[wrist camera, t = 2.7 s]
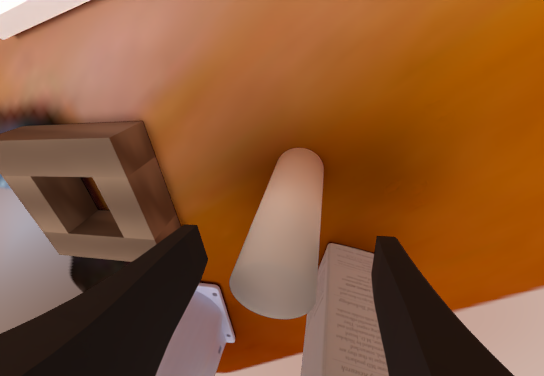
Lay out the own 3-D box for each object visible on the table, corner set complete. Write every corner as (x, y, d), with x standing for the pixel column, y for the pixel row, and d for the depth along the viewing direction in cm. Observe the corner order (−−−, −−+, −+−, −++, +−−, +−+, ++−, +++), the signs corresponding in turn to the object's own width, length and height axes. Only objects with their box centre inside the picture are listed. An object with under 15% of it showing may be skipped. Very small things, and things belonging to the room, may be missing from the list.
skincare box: (358, 301, 22) (380, 538, 12) (306, 287, 22) (284, 506, 12) (387, 252, 18) (453, 527, 8) (324, 236, 19) (315, 481, 9)
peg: (323, 190, 17) (316, 324, 9) (278, 189, 17) (237, 313, 10) (324, 147, 15) (315, 266, 8) (274, 147, 16) (221, 257, 8)
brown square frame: (184, 237, 22) (165, 264, 19) (88, 230, 24) (59, 254, 21) (142, 121, 17) (108, 137, 14) (24, 125, 19) (-24, 141, 16)
